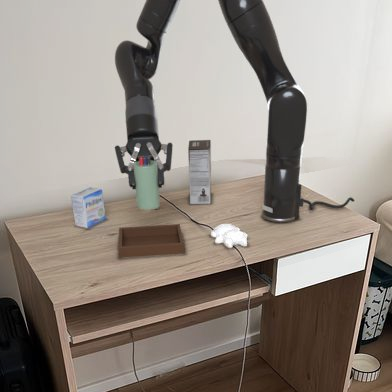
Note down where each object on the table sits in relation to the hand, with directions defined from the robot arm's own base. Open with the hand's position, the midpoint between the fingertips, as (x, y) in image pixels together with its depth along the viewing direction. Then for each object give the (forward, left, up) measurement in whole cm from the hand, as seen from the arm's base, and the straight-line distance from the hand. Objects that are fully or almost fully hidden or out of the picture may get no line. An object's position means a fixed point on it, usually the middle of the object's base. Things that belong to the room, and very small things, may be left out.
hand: (147, 186), depth 127 cm
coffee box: (-16, -32, -15) cm, 39 cm away
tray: (0, 0, -15) cm, 15 cm away
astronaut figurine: (-20, -1, -15) cm, 25 cm away
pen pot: (0, -1, -5) cm, 5 cm away
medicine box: (+16, -18, -15) cm, 29 cm away
